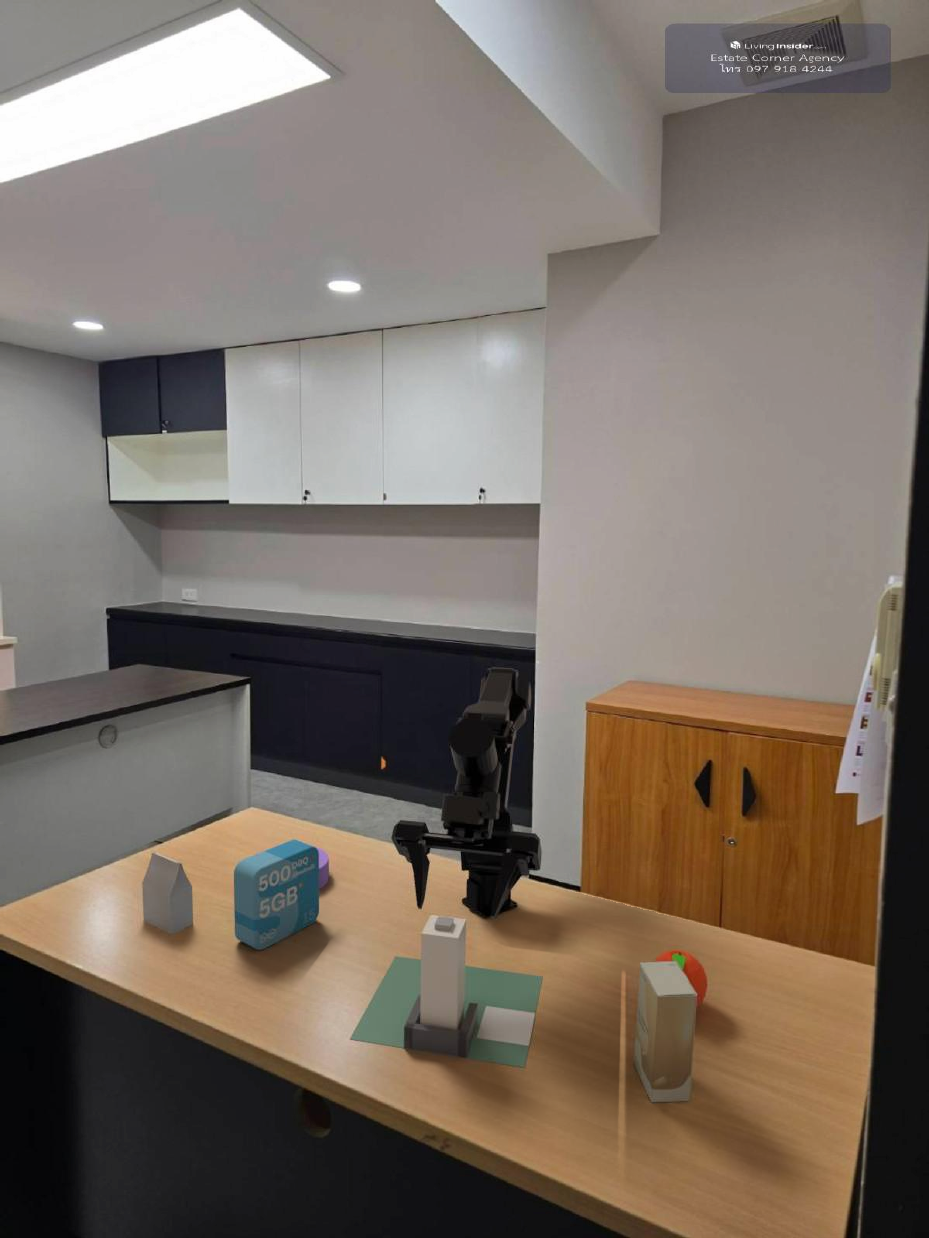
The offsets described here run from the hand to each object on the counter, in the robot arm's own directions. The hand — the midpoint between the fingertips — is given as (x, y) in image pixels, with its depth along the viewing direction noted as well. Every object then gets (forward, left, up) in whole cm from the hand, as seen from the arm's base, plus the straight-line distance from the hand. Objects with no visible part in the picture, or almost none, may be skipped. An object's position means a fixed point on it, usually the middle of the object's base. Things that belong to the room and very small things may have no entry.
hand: (455, 912), depth 93 cm
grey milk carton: (+22, -42, -13) cm, 49 cm away
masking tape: (+1, -44, -13) cm, 46 cm away
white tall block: (+5, +4, -12) cm, 13 cm away
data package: (+10, -30, -13) cm, 34 cm away
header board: (+1, +1, -13) cm, 13 cm away
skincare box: (-10, +23, -13) cm, 29 cm away
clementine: (-22, +16, -13) cm, 30 cm away
